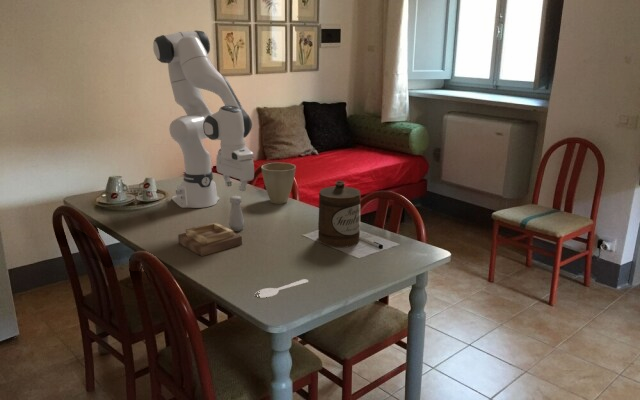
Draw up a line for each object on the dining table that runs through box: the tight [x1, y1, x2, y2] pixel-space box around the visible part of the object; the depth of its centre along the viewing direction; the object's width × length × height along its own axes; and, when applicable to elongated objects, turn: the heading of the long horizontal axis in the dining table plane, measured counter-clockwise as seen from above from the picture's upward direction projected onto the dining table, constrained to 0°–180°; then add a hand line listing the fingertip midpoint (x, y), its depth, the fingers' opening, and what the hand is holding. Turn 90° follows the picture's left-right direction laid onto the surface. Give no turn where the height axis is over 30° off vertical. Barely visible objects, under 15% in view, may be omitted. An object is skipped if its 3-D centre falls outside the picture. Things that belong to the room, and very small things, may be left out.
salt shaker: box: [228, 195, 245, 232], centre depth 197 cm, size 6×6×13 cm
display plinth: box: [177, 221, 243, 257], centre depth 184 cm, size 16×16×5 cm
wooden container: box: [317, 180, 361, 248], centre depth 186 cm, size 15×15×22 cm
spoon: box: [254, 278, 310, 299], centre depth 153 cm, size 5×18×1 cm, turn 126°
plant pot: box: [261, 162, 296, 205], centre depth 231 cm, size 15×15×16 cm
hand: (235, 188), depth 194 cm, fingers open, 8 cm apart
